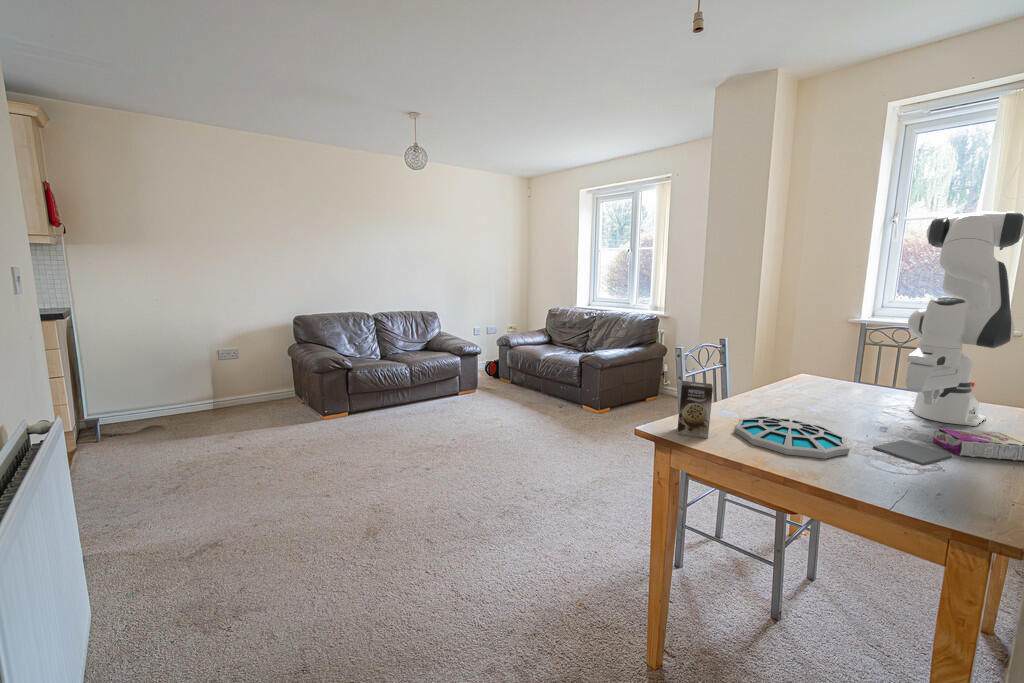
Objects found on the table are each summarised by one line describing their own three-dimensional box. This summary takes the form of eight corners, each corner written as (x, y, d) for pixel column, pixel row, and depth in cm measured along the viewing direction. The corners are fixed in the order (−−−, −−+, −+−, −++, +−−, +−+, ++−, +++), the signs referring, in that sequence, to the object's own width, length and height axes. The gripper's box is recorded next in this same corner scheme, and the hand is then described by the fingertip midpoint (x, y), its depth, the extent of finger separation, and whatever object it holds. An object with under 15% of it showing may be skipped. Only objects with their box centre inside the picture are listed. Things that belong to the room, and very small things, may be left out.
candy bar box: (934, 426, 137) (999, 431, 134) (932, 442, 138) (996, 447, 135) (962, 439, 126) (1033, 445, 123) (959, 456, 127) (1029, 462, 124)
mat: (902, 441, 138) (902, 439, 137) (952, 457, 127) (952, 455, 127) (872, 448, 132) (873, 446, 132) (922, 465, 121) (923, 463, 121)
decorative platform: (875, 460, 125) (878, 443, 124) (773, 460, 123) (775, 443, 122) (800, 422, 155) (802, 408, 154) (717, 422, 153) (719, 408, 153)
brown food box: (677, 434, 141) (680, 384, 138) (677, 428, 147) (681, 379, 144) (708, 439, 138) (713, 387, 135) (707, 432, 144) (712, 382, 141)
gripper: (944, 352, 133) (936, 397, 135) (903, 356, 125) (896, 404, 127) (972, 356, 127) (964, 403, 129) (932, 360, 119) (923, 410, 121)
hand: (930, 403), depth 128 cm, fingers closed
